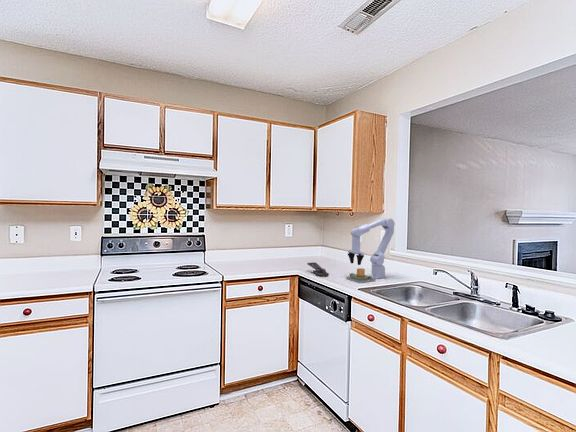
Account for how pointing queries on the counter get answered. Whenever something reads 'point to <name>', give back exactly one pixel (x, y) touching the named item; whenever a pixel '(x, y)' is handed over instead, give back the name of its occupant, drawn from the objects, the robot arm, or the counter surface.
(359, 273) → the wooden rectangular peg
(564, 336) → the counter surface
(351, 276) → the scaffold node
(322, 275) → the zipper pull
